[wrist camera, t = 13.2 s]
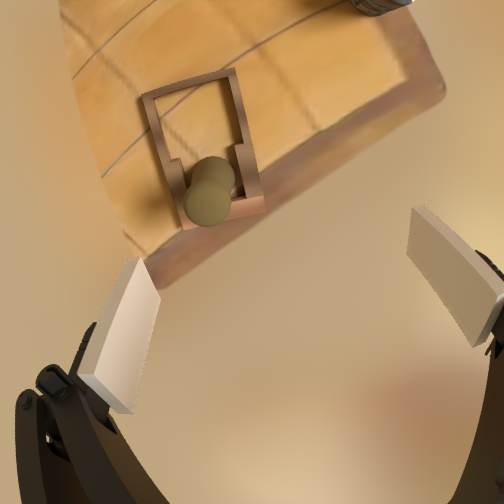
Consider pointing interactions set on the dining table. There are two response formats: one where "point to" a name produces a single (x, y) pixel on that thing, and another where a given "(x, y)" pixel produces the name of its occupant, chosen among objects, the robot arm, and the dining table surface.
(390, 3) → the pill bottle
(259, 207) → the keyhole board
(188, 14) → the dining table surface
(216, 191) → the olive rounded upright piece
